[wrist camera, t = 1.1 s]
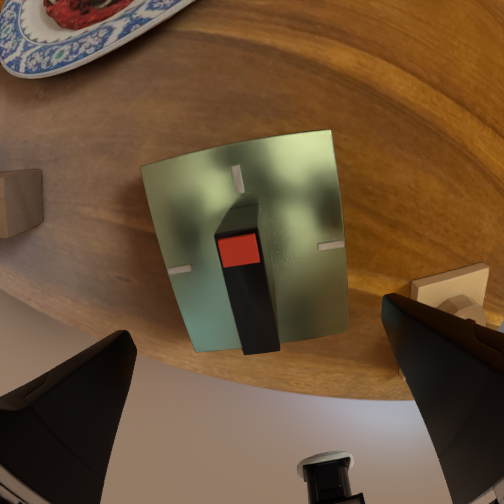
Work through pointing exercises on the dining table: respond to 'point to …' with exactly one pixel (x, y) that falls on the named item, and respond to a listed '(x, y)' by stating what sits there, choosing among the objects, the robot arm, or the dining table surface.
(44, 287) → the dining table surface
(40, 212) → the wooden block
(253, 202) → the panel
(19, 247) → the dining table surface
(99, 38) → the ceramic plate
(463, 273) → the button block
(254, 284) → the red-capped black block
